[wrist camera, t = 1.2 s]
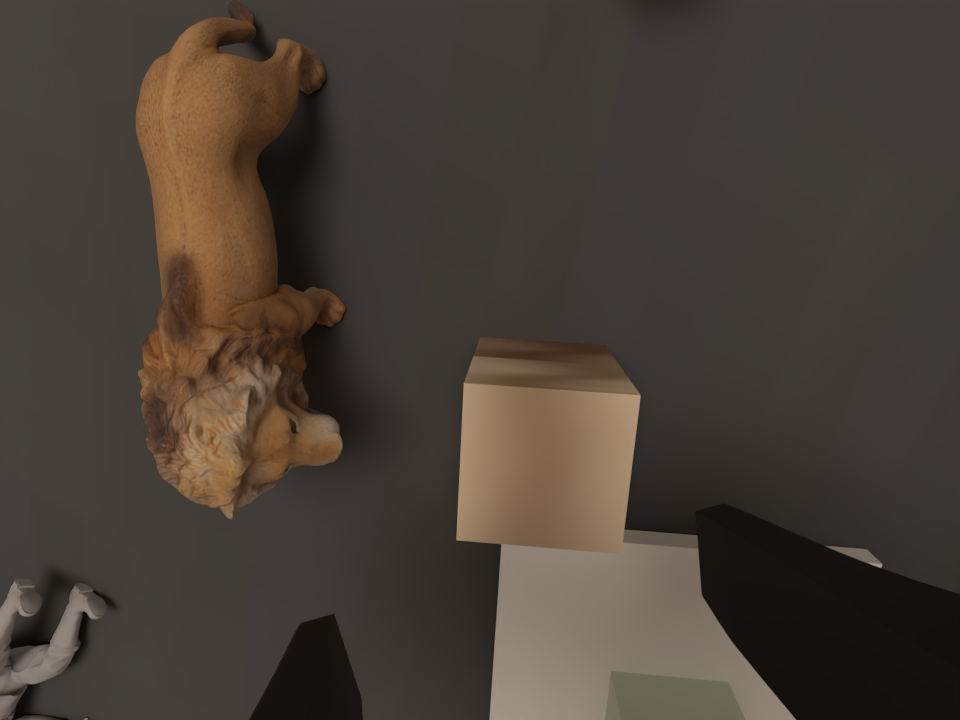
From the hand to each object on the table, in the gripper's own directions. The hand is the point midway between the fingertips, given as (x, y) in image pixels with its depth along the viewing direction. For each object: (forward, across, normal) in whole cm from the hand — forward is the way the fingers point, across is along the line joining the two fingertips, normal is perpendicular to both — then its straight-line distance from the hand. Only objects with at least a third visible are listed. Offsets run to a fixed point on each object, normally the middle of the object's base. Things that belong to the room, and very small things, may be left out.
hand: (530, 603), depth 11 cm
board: (+9, -6, +15) cm, 18 cm away
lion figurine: (+14, +4, -7) cm, 16 cm away
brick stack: (+11, -3, +1) cm, 11 cm away
